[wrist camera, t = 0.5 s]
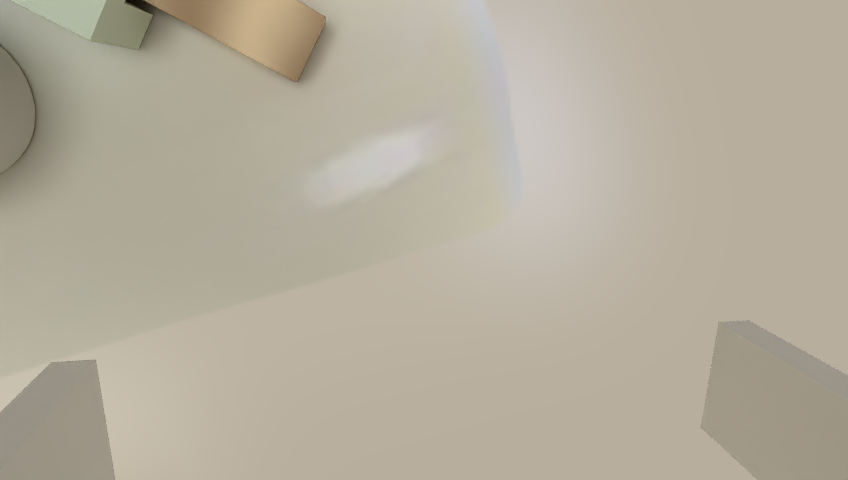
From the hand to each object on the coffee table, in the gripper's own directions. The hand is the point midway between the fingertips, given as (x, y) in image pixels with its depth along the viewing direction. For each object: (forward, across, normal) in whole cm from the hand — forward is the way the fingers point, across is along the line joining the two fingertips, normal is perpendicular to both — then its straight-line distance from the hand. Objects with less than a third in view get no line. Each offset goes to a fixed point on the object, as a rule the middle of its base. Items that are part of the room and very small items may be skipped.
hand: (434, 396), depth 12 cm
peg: (+24, -8, +11) cm, 27 cm away
